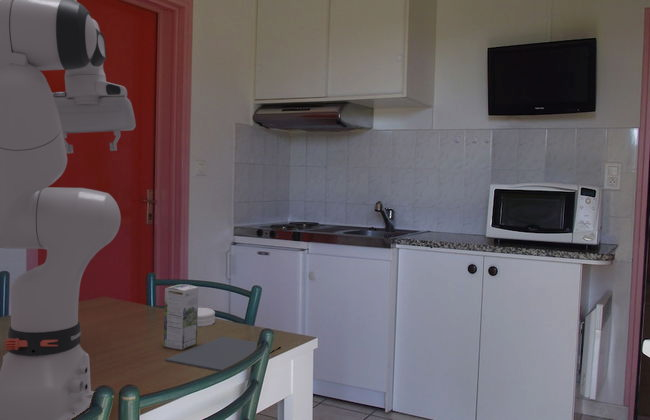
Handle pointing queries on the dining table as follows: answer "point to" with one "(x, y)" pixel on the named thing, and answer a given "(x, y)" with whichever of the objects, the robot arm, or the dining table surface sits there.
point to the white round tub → (205, 317)
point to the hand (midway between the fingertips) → (91, 151)
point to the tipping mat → (216, 353)
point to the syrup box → (180, 316)
